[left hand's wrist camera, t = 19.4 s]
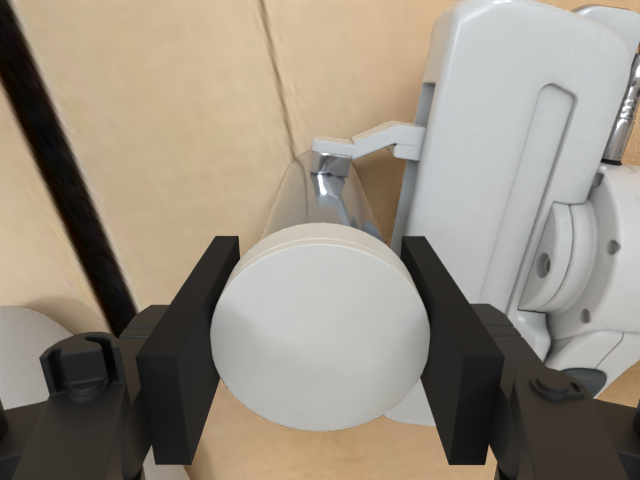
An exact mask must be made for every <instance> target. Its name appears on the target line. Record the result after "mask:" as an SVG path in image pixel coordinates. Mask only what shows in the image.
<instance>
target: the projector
mask: <svg viewBox="0 0 640 480" xmlns="http://www.w3.org/2000/svg"><path fill="white" fill-rule="evenodd" d="M71 336H74V335H73V334H72V333H70V332H69V331H68V330H67V329H65V328H64V327H63V326H61V325H60V324H59V323H57V322H56V321H54V320H53V319H51V318H49V317H48V316H46V315H44V314H42V313H40V312H38V311H35V310H32V309H29V308H24V307H19V306H0V399H1V402H2V405H3V408H4V410H6V409H11V408H15V407H20V406H25V405H30V404H34V403H39V402H43V401H46V400H47V399H48V397H49V392H48V388H47V385H46V381H45V377H44V374H43V370H42V367H41V363H40V360H39V357H40V356H41V355H42V354H43V353H44V351H45V350H46V349H48V348H49V347H51V346H52V345H54V344H55V343H57V342H58V341H61V340H63V339H66V338H68V337H71ZM143 467H144V472H145V479H146V480H190V478H189V476H188V474H187V472H186V470H185V468H184V466H183V465H155V461H154V455H153V450H152V445H151V448H150V450H149V452H148V454H147V456H146V458H145V461H144V463H143Z"/></svg>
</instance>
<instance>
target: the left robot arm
mask: <svg viewBox="0 0 640 480" xmlns="http://www.w3.org/2000/svg"><path fill="white" fill-rule="evenodd" d="M239 260H240V251H239V237H238V236H215V238H214V239H213V241H212V242H211V244H210V245H209V247H208V248H207V250H206V251H205V253H204V254H203V256H202V257H201V259H200V260H199V262H198V263H197V265H196V266H195V268H194V269H193V271H192V272H191V274H190V275H189V277H188V278H187V280H186V281H185V283H184V284H183V286H182V287H181V289H180V290H179V292H178V293H177V295H176V296H175V298H174V299H173V301H172V302H171V304H170V305H151V306H149V307H147V308H146V309H144V310H143V311H141V312H140V313H138V314H137V315H136V316H135V317H134V318H133V319H132V321H131V322H130V323H129V324H128V326H127V329H125V330H124V331H123V332H122V333H121V335H120V336H119V339H118V338H116V337H115V336H114V335H112V334H110V333H105V332H87V333H83V334H78V335H74V336H71V337H68V338H66V339H63V340H61V341H58V342H57V343H55V344H54V345H52V346H51V347H49V348H48V349H46V350H45V351H44V353H43V354H42V355H41V356H40V357H39V360H40V363H41V367H42V370H43V374H44V377H45V381H46V385H47V388H48V392H49V397H48V399H47V400H46V401H43V402H39V403H34V404H30V405H25V406H20V407H15V408H11V409H6V410H4V408H3V405H2V402H1V399H0V480H146V479H145V472H144V467H143V463H144V461H145V458H146V456H147V454H148V452H149V450H150V448H151V445H152V450H153V455H154V461H155V465H191V464H192V461H193V458H194V455H195V452H196V449H197V446H198V443H199V440H200V437H201V434H202V431H203V428H204V425H205V422H206V419H207V416H208V413H209V410H210V407H211V404H212V401H213V398H214V395H215V392H216V389H217V386H218V383H219V380H220V375H219V373H218V371H217V369H216V367H215V364H214V360H213V357H212V348H211V338H210V327H211V321H212V316H213V313H214V310H215V307H216V305H217V303H218V300H219V298H220V296H221V294H222V292H223V290H224V287H225V285H226V283H227V281H228V279H229V277H230V275H231V273H232V271H233V269H234V267H235V266H236V264H237V263H238V262H239ZM400 260H401V261H402V262H403V263H404V265H405V267H406V268H407V270H408V272H409V274H410V276H411V278H412V280H413V282H414V284H415V286H416V289H417V291H418V293H419V295H420V297H421V300H422V302H423V304H424V307H425V309H426V312H427V315H428V320H429V324H430V342H429V351H428V359H427V362H426V365H425V368H424V370H423V373H422V375H421V376H420V379H421V382H422V385H423V388H424V391H425V394H426V397H427V400H428V403H429V406H430V409H431V412H432V415H433V418H434V421H435V424H436V427H437V430H438V433H439V436H440V439H441V442H442V445H443V448H444V451H445V454H446V457H447V460H448V463H449V465H485V462H486V457H487V451H488V446H489V445H490V447H491V449H492V451H493V454H494V456H495V458H496V460H497V467H496V472H495V477H494V480H640V400H639V403H638V406H637V408H634V407H629V406H624V405H619V404H615V403H610V402H605V401H601V400H597V399H594V398H592V396H591V394H590V393H589V391H588V390H587V389H586V387H585V386H584V385H583V384H582V383H580V382H579V381H578V380H576V379H575V378H574V377H572V376H570V375H568V374H566V373H564V372H561V371H559V370H556V369H552V368H548V367H546V366H545V364H544V363H543V362H542V360H541V359H540V358H539V357H538V355H537V354H536V353H535V352H534V350H533V349H532V348H531V346H530V345H529V344H528V343H527V341H526V340H525V339H524V338H523V337H521V334H520V332H519V331H518V330H517V329H516V327H514V325H513V324H512V322H511V321H510V320H509V319H508V317H507V316H506V315H505V313H503V312H501V311H500V310H498V309H497V308H495V307H494V306H492V305H491V304H470V303H469V302H468V300H467V299H466V297H465V296H464V294H463V293H462V291H461V290H460V288H459V287H458V285H457V284H456V282H455V281H454V279H453V278H452V276H451V275H450V273H449V272H448V270H447V269H446V267H445V266H444V264H443V263H442V261H441V260H440V258H439V257H438V255H437V254H436V252H435V251H434V249H433V248H432V246H431V245H430V243H429V242H428V240H427V239H426V237H425V236H402V241H401V255H400Z"/></svg>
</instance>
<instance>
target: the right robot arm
mask: <svg viewBox="0 0 640 480" xmlns="http://www.w3.org/2000/svg"><path fill="white" fill-rule="evenodd" d="M638 45H639V49H638V53H636V51H637V48H638ZM639 104H640V14H639V13H637V12H634V11H632V10H629V9H625V8H618V7H612V6H605V5H598V4H589V5H584V6H580V7H578V8H575V9H573V10H571V11H568V10H565V9H562V8H559V7H556V6H553V5H549V4H546V3H543V2H539V1H535V0H458V1H456V2H455V3H454V4H452V5H451V6H450V7H448V8H447V9H446V10H445V11H443V12H442V13H441V14H440V15H439V16H438V17H437V18H436V20H435V22H434V25H433V29H432V34H431V39H430V44H429V49H428V54H427V59H426V64H425V69H424V74H423V79H422V85H421V90H420V95H419V100H418V105H417V110H416V115H415V120H414V123H410V122H402V121H394V120H389V121H387V122H385V123H382V124H380V125H378V126H376V127H373V128H371V129H369V130H366V131H364V132H362V133H359V134H357V135H355V136H352V137H351V140H350V139H343V138H335V137H327V136H313V138H312V146H311V154H310V163H309V172H311V173H314V174H326V173H328V172H329V173H330V174H332V175H333V176H336V177H344V178H348V176H349V170H350V164H351V159H352V160H354V159H356V158H359V157H362V156H364V155H367V154H369V153H372V152H374V151H377V150H379V149H382V148H384V147H386V148H387V149H388V151H389V152H390V153H391V154H392V155H393V156H394V157H395V158H402V159H407V160H406V165H405V170H404V176H403V181H402V186H401V191H400V196H399V201H398V206H397V211H396V216H395V221H394V226H393V231H392V236H391V241H390V246H389V248H390V249H391V250H392V251H393V252H394V253H395V254H396V255H397V256H398V257H399V259H400V255H401V241H402V236H425V237H426V239H427V240H428V242H429V243H430V245H431V246H432V248H433V249H434V251H435V252H436V254H437V255H438V257H439V258H440V260H441V261H442V263H443V264H444V266H445V267H446V269H447V270H448V272H449V273H450V275H451V276H452V278H453V279H454V281H455V282H456V284H457V285H458V287H459V288H460V290H461V291H462V293H463V294H464V296H465V297H466V299H467V300H468V302H469V303H470V304H491V305H492V306H494V307H495V308H497V309H498V310H500V311H501V312H503V313H505V315H506V316H507V317H508V319H509V320H510V321H511V322H512V324H513V325H514V327H516V329H517V330H518V331H519V332H520V334H521V337H523V338H524V339H525V340H526V341H527V343H528V344H529V345H530V346H531V348H532V349H533V350H534V352H535V353H536V354H537V355H538V357H539V358H540V359H541V360H542V362H543V363H544V364H545V366H546V367H548V368H552V369H556V370H559V371H561V372H564V373H566V374H568V375H570V376H572V377H574V378H575V379H576V380H578V381H579V382H580V383H582V384H583V385H584V386H585V387H586V389H587V390H588V391H589V393H590V394H591V396H592V398H594V399H596V398H597V397H598V396H599V395H600V394H601V393H602V392H603V391H604V390H605V389H606V388H607V387H608V386H609V385H610V384H611V383H612V382H613V381H614V380H615V379H616V378H618V377H619V376H620V375H621V374H622V373H623V372H625V371H626V370H627V369H628V368H630V367H631V366H632V365H634V364H635V363H636V362H638V361H639V360H640V166H638V165H630V164H623V163H620V162H621V159H622V157H623V154H624V151H625V149H626V146H627V143H628V141H629V138H630V135H631V133H632V130H633V126H634V123H635V121H634V120H635V119H636V113H637V111H638V108H637V107H638V106H639ZM383 416H385V417H386V418H387V419H389V420H392V421H395V422H400V423H407V424H415V425H424V426H436V424H435V421H434V418H433V415H432V412H431V409H430V406H429V403H428V400H427V397H426V394H425V391H424V388H423V385H422V382H421V379H420V378H419V380H418V382H417V383H416V385H415V386H414V387H413V389H412V390H411V391H410V393H409V394H408V395H407V396H406V397H405V398H404V399H403V400H402V401H401V402H400V403H399V404H397V405H396V406H395V407H394V408H392V409H391V410H390V411H388V412H386V413H385V414H383Z"/></svg>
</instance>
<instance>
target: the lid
mask: <svg viewBox="0 0 640 480" xmlns="http://www.w3.org/2000/svg"><path fill="white" fill-rule="evenodd" d="M210 338H211V348H212V357H213V360H214V364H215V367H216V369H217V371H218V373H219V375H220V378H221V379H222V381H223V382H224V384H225V385H226V387H227V388H228V389H229V391H230V392H231V393H232V394H233V395H234V397H235V398H237V399H238V400H239V401H240V402H241V403H242V404H243V405H244V406H246V407H247V408H248V409H250V410H251V411H253V412H254V413H256V414H257V415H259V416H261V417H263V418H265V419H267V420H269V421H271V422H274V423H276V424H279V425H282V426H286V427H289V428H294V429H299V430H306V431H334V430H342V429H347V428H351V427H355V426H358V425H361V424H364V423H367V422H369V421H372V420H374V419H376V418H378V417H380V416H381V415H383V414H385V413H386V412H388V411H390V410H391V409H392V408H394V407H395V406H396V405H397V404H399V403H400V402H401V401H402V400H403V399H404V398H405V397H406V396H407V395H408V394H409V393H410V391H411V390H412V389H413V387H414V386H415V385H416V383H417V382H418V380H419V378H420V376H421V375H422V373H423V370H424V368H425V365H426V362H427V359H428V351H429V342H430V324H429V320H428V315H427V312H426V309H425V307H424V304H423V302H422V300H421V297H420V295H419V293H418V291H417V289H416V286H415V284H414V282H413V280H412V278H411V276H410V274H409V272H408V270H407V268H406V267H405V265H404V263H403V262H402V261H401V260H400V259H399V257H398V256H397V255H396V254H395V253H394V252H393V251H392V250H391V249H390V248H389V247H388V246H387V245H385V244H384V243H382V242H381V241H380V240H378V239H377V238H375V237H373V236H371V235H369V234H368V233H366V232H363V231H361V230H358V229H355V228H353V227H349V226H344V225H340V224H333V223H307V224H301V225H295V226H292V227H288V228H285V229H282V230H280V231H277V232H275V233H273V234H271V235H269V236H267V237H266V238H264V239H262V240H260V241H259V242H258V243H257V244H255V245H254V246H253V247H251V248H250V249H249V250H248V251H247V252H246V253H245V254H244V255H243V256H242V258H241V259H240V260H239V262H238V263H237V264H236V266H235V267H234V269H233V271H232V273H231V275H230V277H229V279H228V281H227V283H226V285H225V287H224V290H223V292H222V294H221V296H220V298H219V300H218V303H217V305H216V307H215V310H214V313H213V316H212V321H211V327H210Z"/></svg>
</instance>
